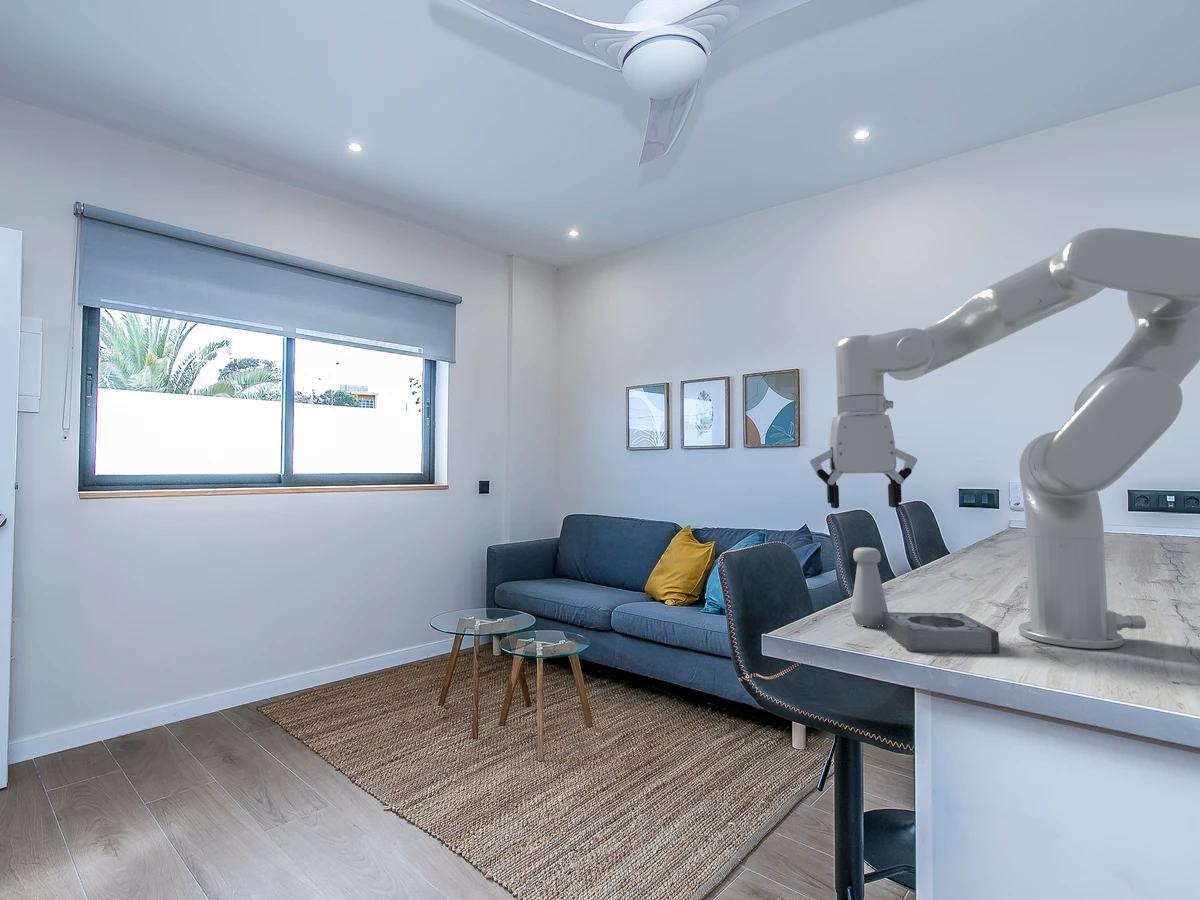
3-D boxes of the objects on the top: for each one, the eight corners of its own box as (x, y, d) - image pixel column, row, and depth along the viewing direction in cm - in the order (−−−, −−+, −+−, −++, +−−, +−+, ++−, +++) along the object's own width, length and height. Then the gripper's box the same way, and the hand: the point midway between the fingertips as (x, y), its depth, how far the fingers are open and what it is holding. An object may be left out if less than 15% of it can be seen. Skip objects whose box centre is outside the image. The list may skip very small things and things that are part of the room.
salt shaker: (881, 620, 107) (878, 546, 107) (893, 629, 101) (890, 549, 101) (846, 620, 107) (844, 546, 108) (857, 628, 102) (854, 550, 102)
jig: (961, 631, 98) (961, 613, 98) (999, 653, 86) (998, 632, 87) (883, 630, 100) (882, 612, 100) (909, 651, 88) (908, 630, 88)
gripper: (906, 409, 108) (909, 506, 107) (804, 412, 111) (807, 506, 110) (922, 404, 101) (926, 508, 100) (813, 407, 103) (816, 509, 102)
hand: (864, 507), depth 105 cm, fingers open, 9 cm apart
